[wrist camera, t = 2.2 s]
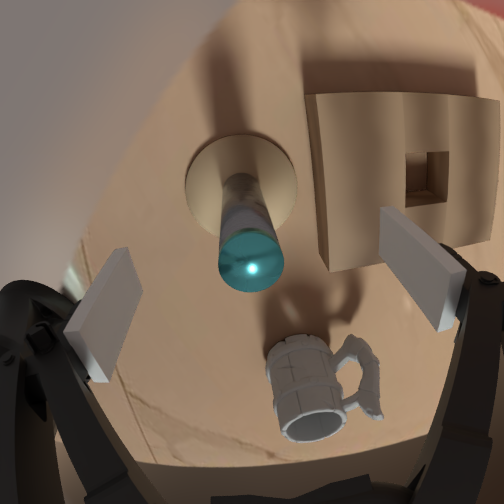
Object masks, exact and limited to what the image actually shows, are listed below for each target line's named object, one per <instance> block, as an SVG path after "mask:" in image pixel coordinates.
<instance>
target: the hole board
mask: <svg viewBox="0 0 504 504" xmlns="http://www.w3.org/2000/svg"><path fill="white" fill-rule="evenodd" d="M304 97H305V104H306V112H307V120H308V129H309V137H310V147H311V156H312V166H313V177H314V188H315V200H316V213H317V227H318V243H319V254H320V256H321V258H322V260H323V261H324V263H325V265H326V267H327V269H328V271H329V273H332V272H337V271H343V270H348V269H353V268H359V267H364V266H369V265H374V264H379V263H385V262H384V260H383V259H382V258H381V257H380V255H379V238H380V207H387V206H394V207H395V208H396V209H398V210H399V211H400V212H401V213H403V214H404V215H405V216H406V217H407V218H409V219H410V220H411V221H412V222H414V223H415V224H416V225H417V226H418V227H419V228H421V229H422V230H423V231H424V232H425V233H427V234H428V235H429V236H430V237H431V238H432V239H433V240H435V241H436V242H437V243H443V244H445V245H447V246H449V247H451V248H452V249H453V248H457V247H462V246H466V245H471V244H475V243H480V242H484V241H488V240H490V237H491V231H492V225H493V219H494V212H495V204H496V195H497V186H498V174H499V158H500V101H498V100H492V99H486V98H479V97H471V96H462V95H451V94H438V93H422V92H382V91H379V92H339V93H321V94H308V95H304ZM418 152H427V190H422V191H413V192H406V155H405V153H418Z"/></svg>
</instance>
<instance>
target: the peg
mask: <svg viewBox="0 0 504 504" xmlns="http://www.w3.org/2000/svg"><path fill="white" fill-rule="evenodd" d="M218 267H219V272H220V275H221V277H222V278H223V280H224V281H225V282H226V283H227V284H228V285H229V286H231V287H232V288H234V289H236V290H239V291H243V292H257V291H261V290H264V289H266V288H268V287H270V286H271V285H273V284H274V283H275V282H276V281H277V280H278V278H279V277H280V275H281V273H282V271H283V267H284V258H283V254H282V251H281V248H280V245H279V242H278V239H277V236H276V233H275V230H274V227H273V224H272V221H271V218H270V215H269V212H268V209H267V206H266V203H265V200H264V197H263V194H262V191H261V188H260V185H259V183H258V181H257V179H256V178H255V177H253V176H252V175H250V174H248V173H236V174H233V175H232V176H230V177H229V178H228V179H227V180H226V181H225V183H224V186H223V194H222V209H221V225H220V241H219V260H218Z"/></svg>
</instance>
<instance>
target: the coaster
mask: <svg viewBox="0 0 504 504" xmlns="http://www.w3.org/2000/svg"><path fill="white" fill-rule="evenodd" d="M236 173H248V174H250V175H252V176H253V177H255V178H256V179H257V181H258V183H259V185H260V188H261V191H262V194H263V197H264V200H265V203H266V206H267V209H268V212H269V215H270V218H271V221H272V224H273V227H274V230H276V229H278V228H279V227H280V226H281V225H282V224H283V223H284V222H285V221H286V219H287V218H288V216H289V215H290V213H291V211H292V209H293V207H294V204H295V201H296V197H297V180H296V175H295V172H294V169H293V167H292V165H291V162H290V161H289V159H288V158H287V156H286V155H285V154H284V153H283V152H282V151H281V150H280V149H279V148H278V147H277V146H275V145H274V144H272V143H271V142H269V141H267V140H265V139H263V138H260V137H256V136H252V135H232V136H227V137H224V138H221V139H219V140H216V141H215V142H213V143H211V144H210V145H208V146H207V147H206V148H204V149H203V150H202V151H201V152H200V153H199V155H198V156H197V157H196V158H195V160H194V162H193V163H192V165H191V167H190V169H189V172H188V175H187V179H186V186H185V191H186V200H187V203H188V207H189V209H190V211H191V213H192V215H193V217H194V218H195V220H196V221H197V222H198V223H199V225H201V226H202V227H203V228H204V229H205V230H206V231H208V232H209V233H211V234H213V235H214V236H216V237H219V238H220V225H221V209H222V194H223V186H224V183H225V181H226V180H227V179H228V178H229V177H230V176H232V175H233V174H236Z"/></svg>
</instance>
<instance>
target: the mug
mask: <svg viewBox="0 0 504 504" xmlns="http://www.w3.org/2000/svg"><path fill="white" fill-rule="evenodd" d="M349 360H350V361H355V362H357V363H360V366H361V369H362V371H363V376H362V379H361V381H360V385H359V388H358V389H359V390H358V391H357V392H356V393H355V394H353V395H352V396H350V397H348V398H346V399H343V397H344V394H343V388H342V386H341V384H340V383H339V382H337V378H336V375H335V373H336V372H337V371H338V370H339V369H341V368H342V367H343V366H344V365H345V364H346V363H347V362H348V361H349ZM379 365H380V363H379V360H378V358H377V357H376V356H375V355H374V354H373V352H372V349H371V348H370V346H369V345H368V344H367V342H366V341H364V340H363V339H362V338H357V337H355V336H354V335H353V334H350V335H348V336H347V338H346V339H345V341H344V343H343V345H342V347H341V348H340V349H339V350H338V351H337V352H336V353H335V354H334V355H333V352H332V351H331V350H330V348H329V347H328V346H327V345H326V344H325V342H324V341H323V340H322V339H320V338H319V337H315V336H313V335H310V336H307V334H298V335H293V336H289V337H287V338H285V341H284V342H282V341H280V342H278V343H277V344H276V345H275V346H274V347H273V348H272V349H271V350H270V351H269V353H268V357H267V363H266V367H265V369H266V376H267V378H268V381H269V383H271V385H272V390H273V395H274V399H273V408H274V412H275V414H276V416H277V417H278V420H279V425H280V430H281V434H282V435H284V436H285V438H287V439H288V440H290V441H292V442H297V443H307V442H315V441H320V440H322V439H324V438H325V437H327V438H328V437H330V436H332V435H333V434H335V433H337V432H338V431H339V430H341V429H342V428H343V427H344V425H345V423H346V421H347V415H346V412H347V411H350V410H352V409H355V408H356V407H358V406H360V408H361V409H362V411H363V412H364V413H365V414H366V415H367V416H368V417H370V418H372V419H373V420H383V419H384V416H383V413H382V411H381V408H380V401H379V398H380V389H379V379H380V377H379V374H380V373H379ZM324 436H325V437H324Z"/></svg>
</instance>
